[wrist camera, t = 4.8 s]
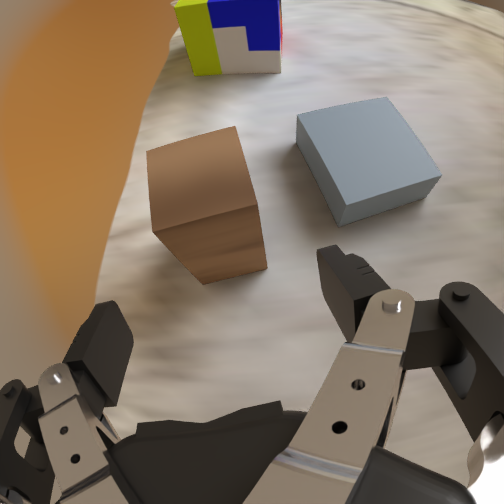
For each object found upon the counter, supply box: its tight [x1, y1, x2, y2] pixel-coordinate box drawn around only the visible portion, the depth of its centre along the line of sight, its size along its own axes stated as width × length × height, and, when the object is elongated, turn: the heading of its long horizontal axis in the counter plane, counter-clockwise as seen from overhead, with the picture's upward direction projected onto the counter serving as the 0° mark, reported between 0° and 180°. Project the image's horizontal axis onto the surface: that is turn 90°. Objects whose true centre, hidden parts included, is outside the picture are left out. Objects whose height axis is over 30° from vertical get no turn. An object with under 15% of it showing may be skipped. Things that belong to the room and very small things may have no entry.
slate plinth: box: [296, 97, 442, 227], centre depth 24 cm, size 9×9×4 cm
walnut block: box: [146, 126, 268, 284], centre depth 20 cm, size 5×5×10 cm
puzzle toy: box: [174, 0, 282, 76], centre depth 28 cm, size 10×10×10 cm
